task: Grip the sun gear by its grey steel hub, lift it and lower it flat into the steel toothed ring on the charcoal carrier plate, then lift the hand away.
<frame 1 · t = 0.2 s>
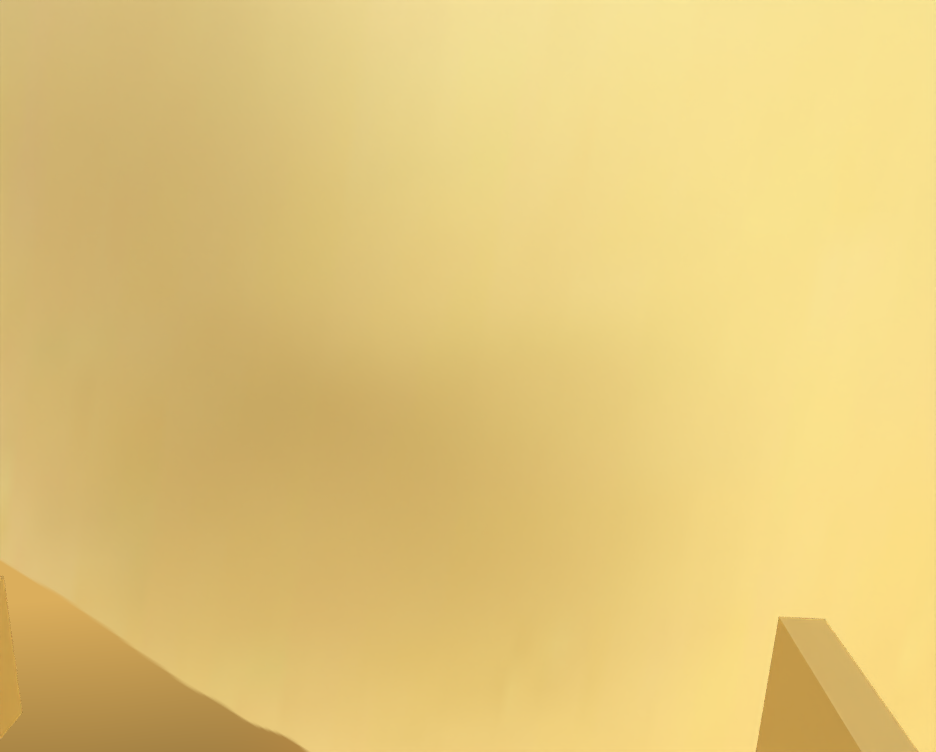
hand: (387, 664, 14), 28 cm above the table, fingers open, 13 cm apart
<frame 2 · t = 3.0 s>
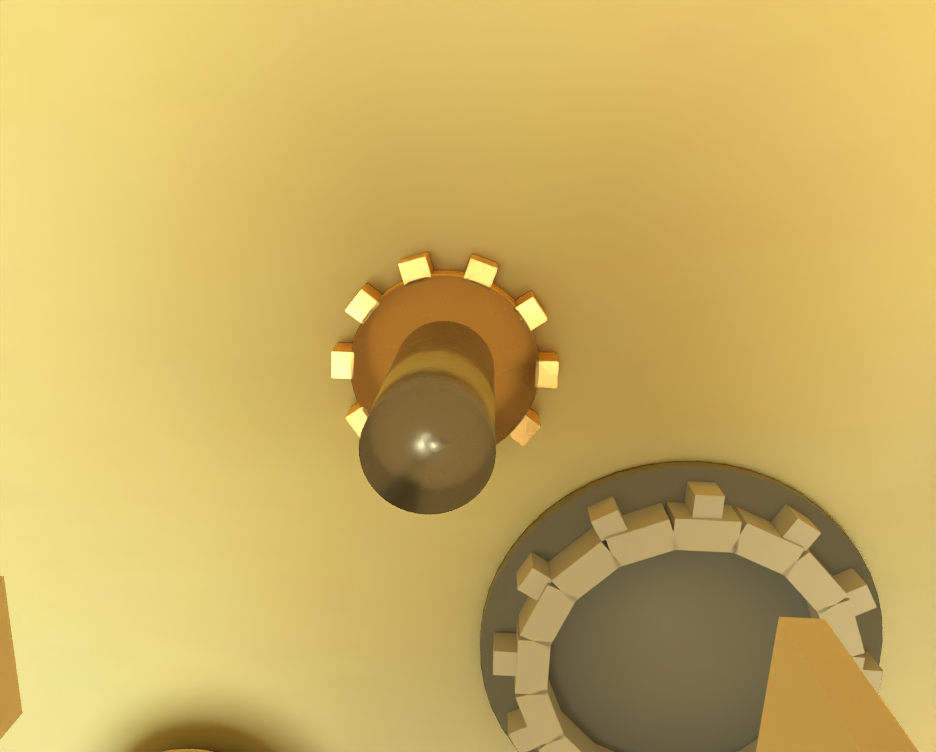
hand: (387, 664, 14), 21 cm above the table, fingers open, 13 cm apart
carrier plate: (675, 642, 37), on the table
sun gear: (446, 360, 33), on the table
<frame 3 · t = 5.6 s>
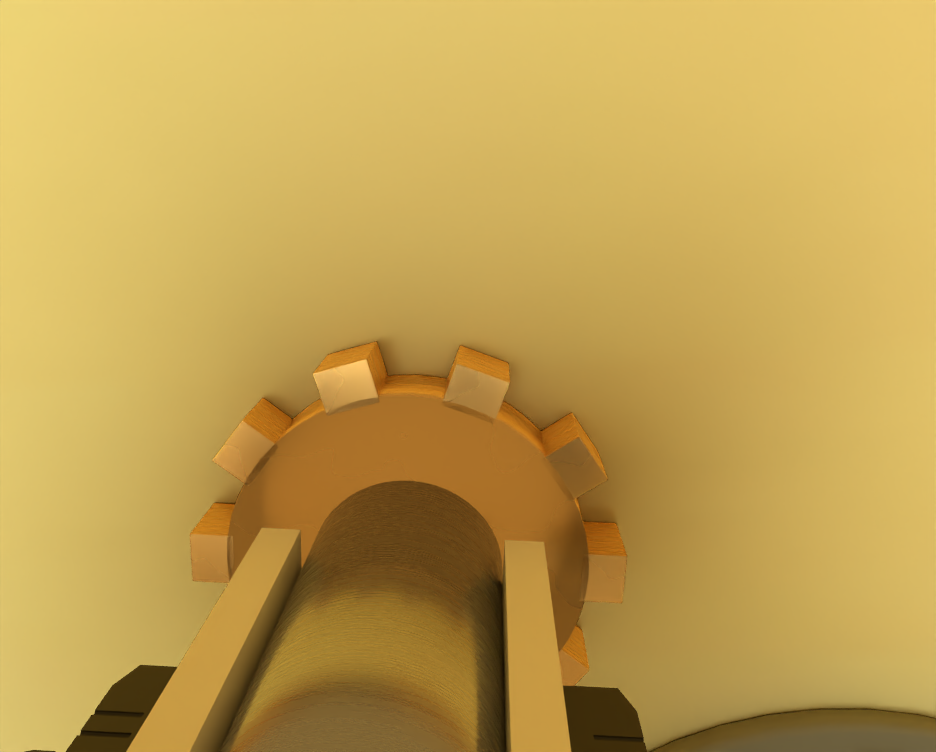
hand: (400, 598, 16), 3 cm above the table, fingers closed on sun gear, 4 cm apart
sun gear: (413, 535, 18), on the table, touching gripper
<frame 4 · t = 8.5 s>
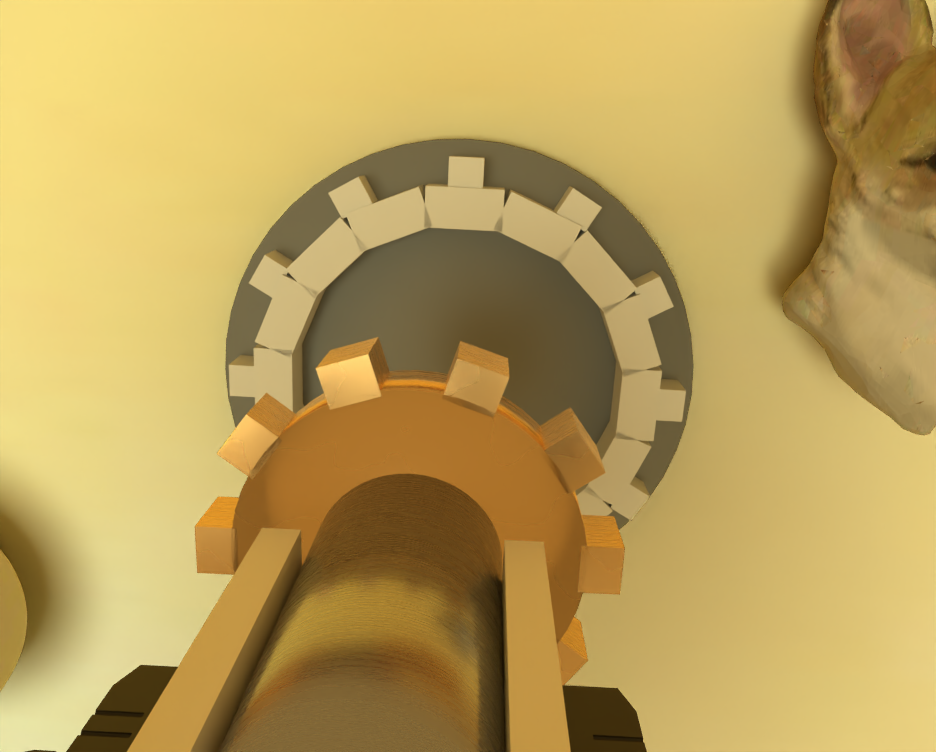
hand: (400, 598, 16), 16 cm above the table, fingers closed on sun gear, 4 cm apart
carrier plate: (458, 376, 31), on the table
sun gear: (414, 528, 18), point 14 cm above the table, touching gripper
ceramic sculpture: (892, 182, 29), on the table
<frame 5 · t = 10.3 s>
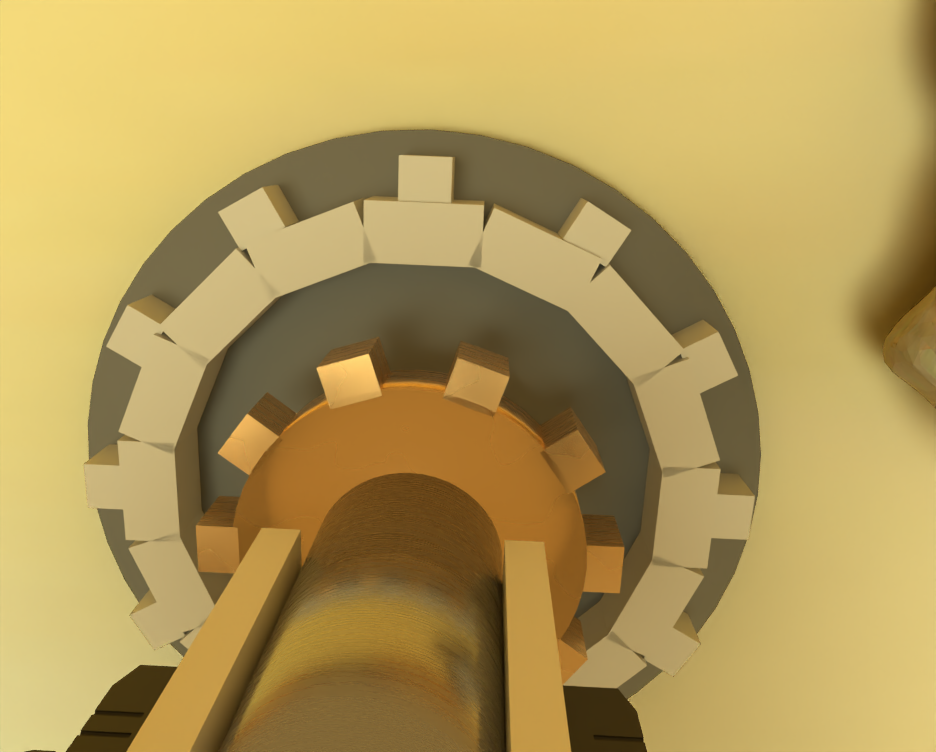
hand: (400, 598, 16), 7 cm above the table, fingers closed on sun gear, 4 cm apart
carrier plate: (423, 468, 22), on the table
sun gear: (415, 527, 18), point 4 cm above the table, touching gripper
when the fingers open (4 cm above the table, at t = 11.5 s): sun gear drops 1 cm, resting on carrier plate.
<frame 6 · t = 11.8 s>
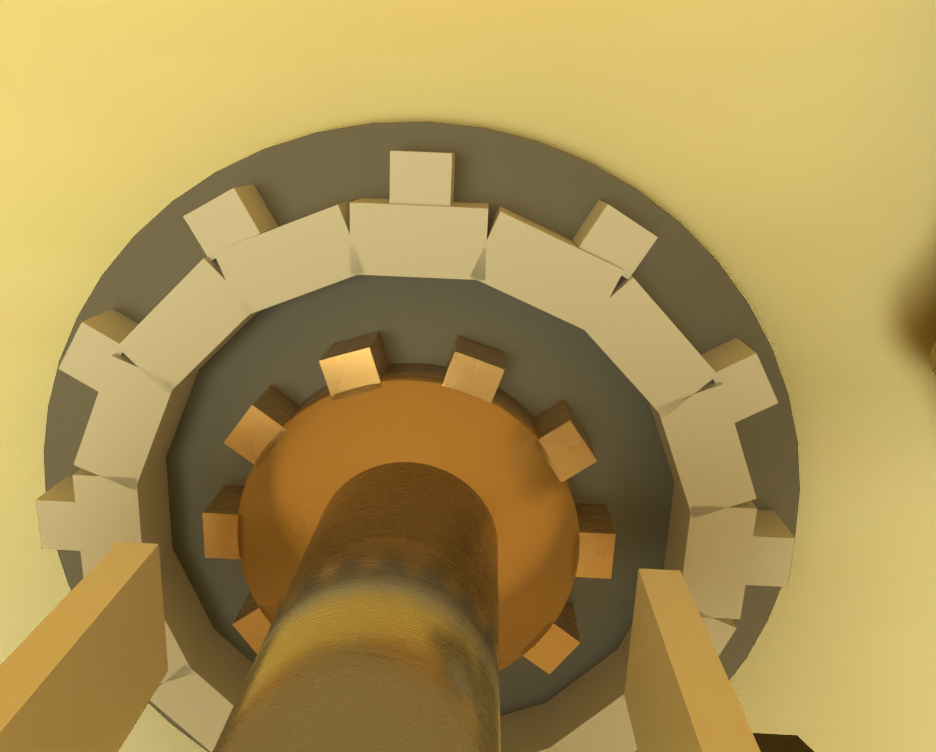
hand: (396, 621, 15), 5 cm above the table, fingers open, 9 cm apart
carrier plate: (420, 501, 20), on the table
sun gear: (414, 515, 19), point 1 cm above the table, touching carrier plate
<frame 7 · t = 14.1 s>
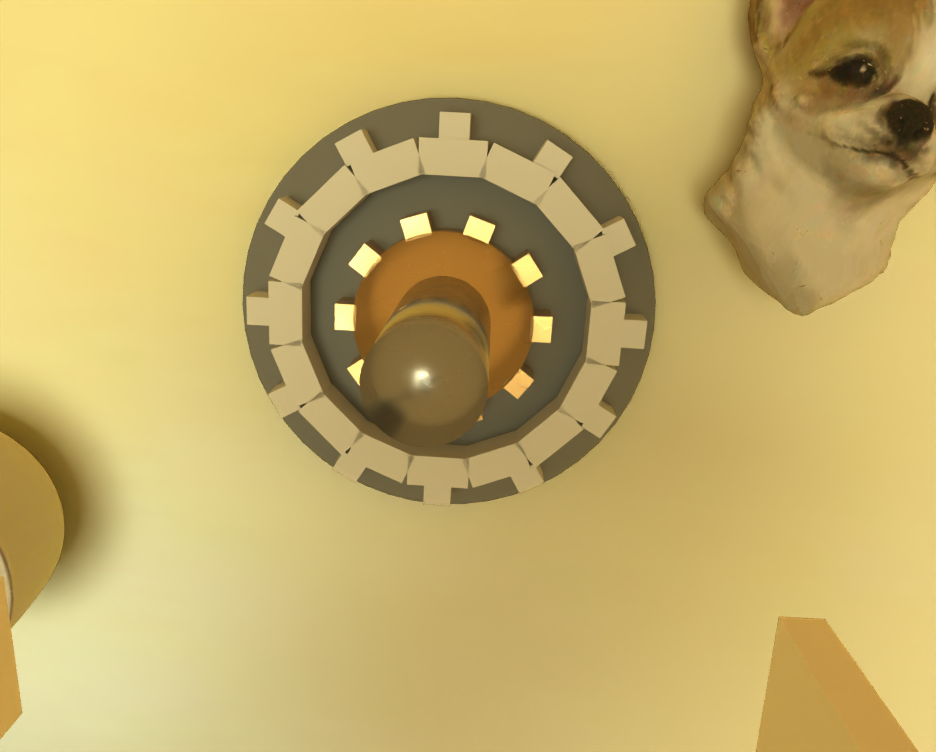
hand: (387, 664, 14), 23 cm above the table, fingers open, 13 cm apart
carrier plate: (448, 312, 35), on the table
sun gear: (445, 315, 35), point 1 cm above the table, touching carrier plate
ceramic sculpture: (814, 115, 33), on the table
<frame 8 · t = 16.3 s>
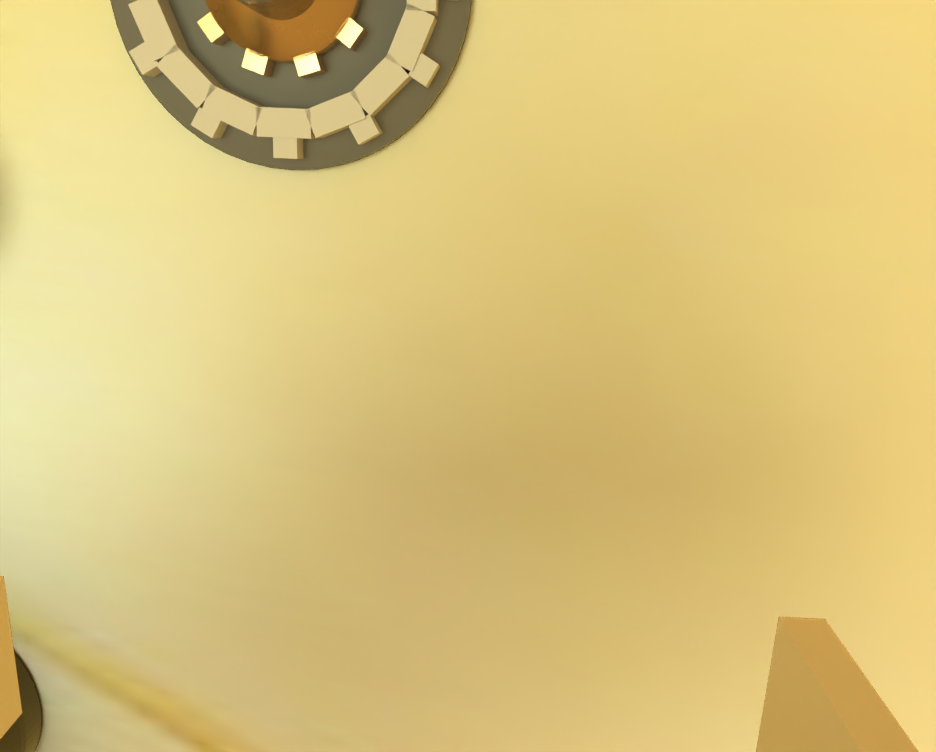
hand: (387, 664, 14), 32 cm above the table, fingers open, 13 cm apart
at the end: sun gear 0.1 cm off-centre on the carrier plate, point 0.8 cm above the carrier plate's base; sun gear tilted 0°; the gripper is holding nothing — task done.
